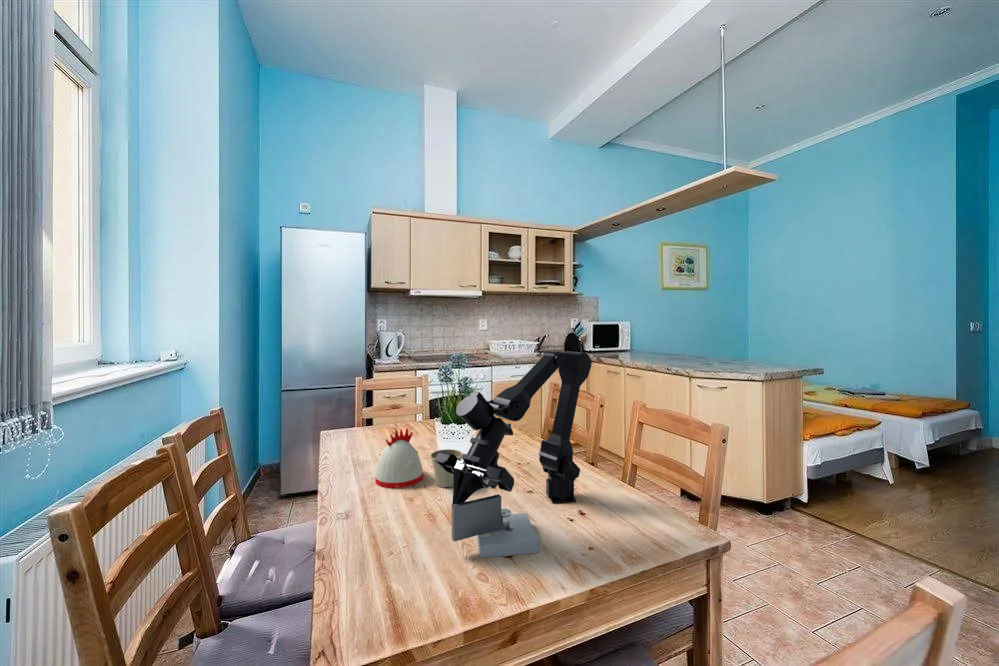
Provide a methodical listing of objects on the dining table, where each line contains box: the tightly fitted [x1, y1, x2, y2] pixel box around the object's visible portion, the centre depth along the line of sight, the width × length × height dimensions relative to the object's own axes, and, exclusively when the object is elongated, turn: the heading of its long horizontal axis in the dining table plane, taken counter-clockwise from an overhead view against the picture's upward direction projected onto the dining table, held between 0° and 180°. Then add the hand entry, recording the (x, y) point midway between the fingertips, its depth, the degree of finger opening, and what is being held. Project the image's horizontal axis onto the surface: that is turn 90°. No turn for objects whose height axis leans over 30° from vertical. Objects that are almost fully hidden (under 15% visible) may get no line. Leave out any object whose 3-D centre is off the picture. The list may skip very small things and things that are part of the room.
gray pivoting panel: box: [451, 494, 512, 543], centre depth 85 cm, size 13×3×7 cm, turn 117°
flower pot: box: [429, 448, 464, 488], centre depth 117 cm, size 9×9×9 cm
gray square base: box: [476, 512, 540, 559], centre depth 87 cm, size 12×12×3 cm
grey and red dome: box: [374, 428, 424, 489], centre depth 121 cm, size 14×14×15 cm
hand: (454, 508), depth 83 cm, fingers closed
